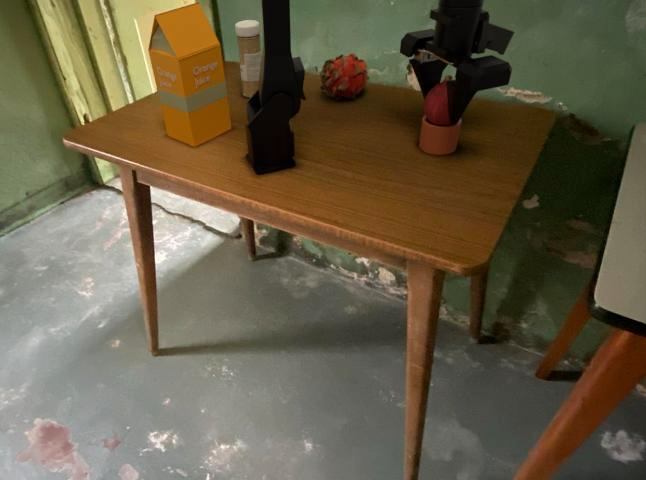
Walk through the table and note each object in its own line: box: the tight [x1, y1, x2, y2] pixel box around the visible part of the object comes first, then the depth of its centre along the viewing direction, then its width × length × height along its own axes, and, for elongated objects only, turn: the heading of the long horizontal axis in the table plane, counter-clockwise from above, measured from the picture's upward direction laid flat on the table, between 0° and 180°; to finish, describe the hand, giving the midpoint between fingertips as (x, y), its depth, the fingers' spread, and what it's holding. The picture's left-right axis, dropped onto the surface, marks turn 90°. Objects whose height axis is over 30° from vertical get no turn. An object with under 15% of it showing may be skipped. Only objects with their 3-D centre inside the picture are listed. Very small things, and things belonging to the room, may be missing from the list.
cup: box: [418, 114, 463, 156], centre depth 77 cm, size 6×6×4 cm
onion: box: [423, 74, 454, 127], centre depth 74 cm, size 6×6×8 cm
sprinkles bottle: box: [234, 19, 262, 99], centre depth 95 cm, size 5×5×13 cm
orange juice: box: [147, 1, 232, 148], centre depth 81 cm, size 8×9×20 cm
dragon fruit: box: [319, 53, 370, 101], centre depth 94 cm, size 8×8×12 cm
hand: (441, 115), depth 75 cm, fingers closed on onion, 6 cm apart
